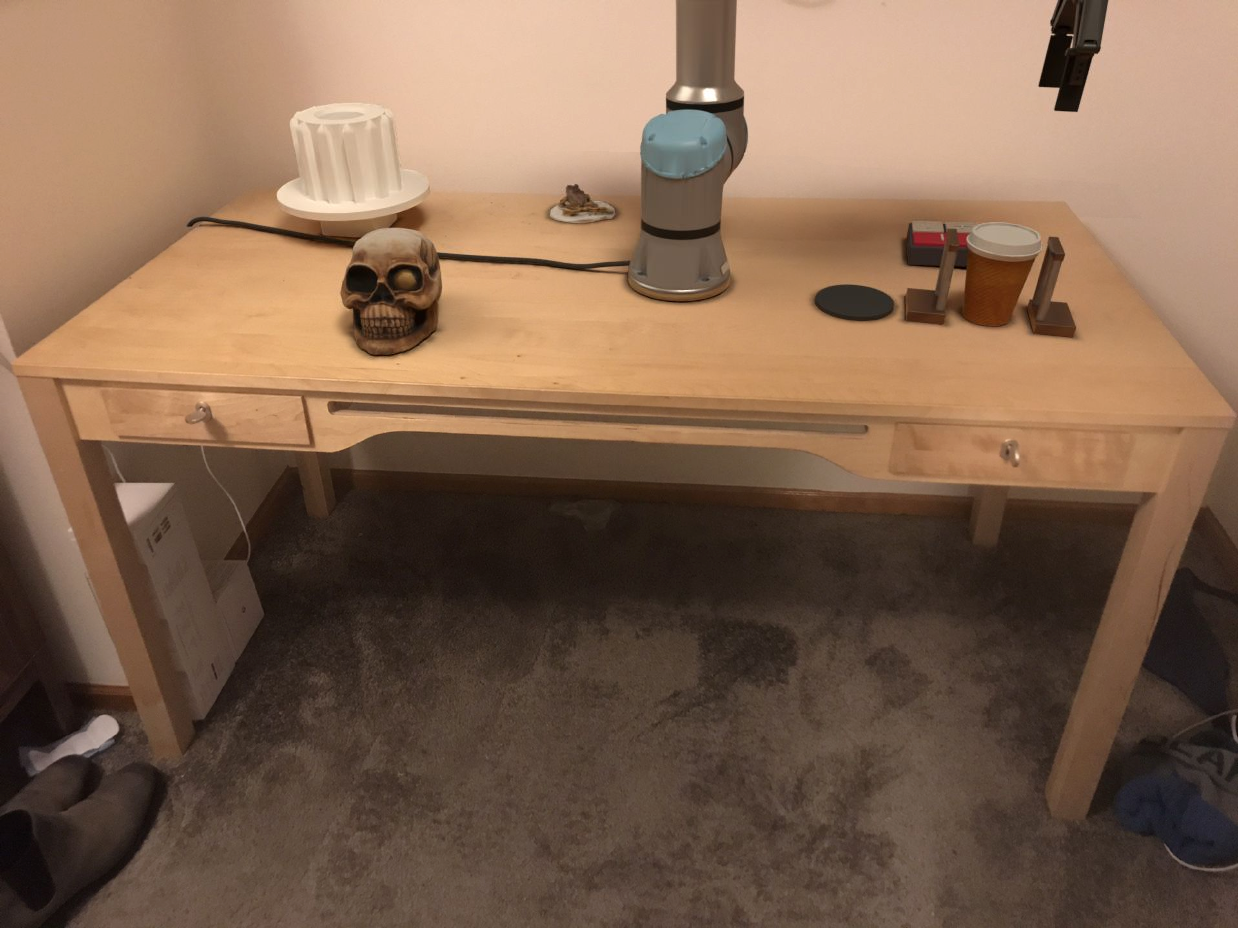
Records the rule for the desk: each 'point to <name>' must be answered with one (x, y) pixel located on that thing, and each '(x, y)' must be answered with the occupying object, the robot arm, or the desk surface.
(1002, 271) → the disposable coffee cup
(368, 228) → the ribbed cylinder on disc
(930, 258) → the calculator
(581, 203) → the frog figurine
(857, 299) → the coaster
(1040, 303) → the bookends
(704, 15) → the robot arm
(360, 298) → the brown skull
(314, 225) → the desk surface
